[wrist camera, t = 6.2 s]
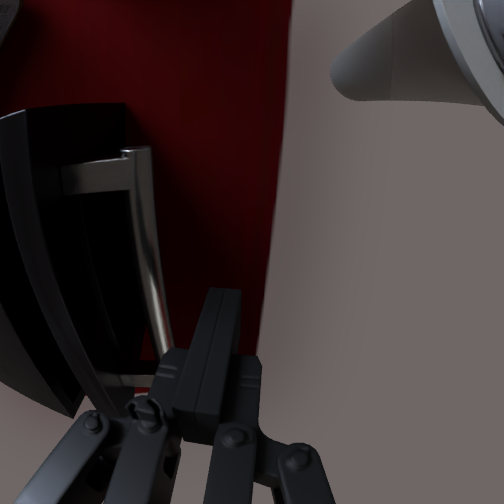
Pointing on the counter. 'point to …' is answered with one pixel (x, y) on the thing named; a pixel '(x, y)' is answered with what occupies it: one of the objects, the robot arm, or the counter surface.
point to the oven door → (89, 242)
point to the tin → (8, 16)
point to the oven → (29, 333)
